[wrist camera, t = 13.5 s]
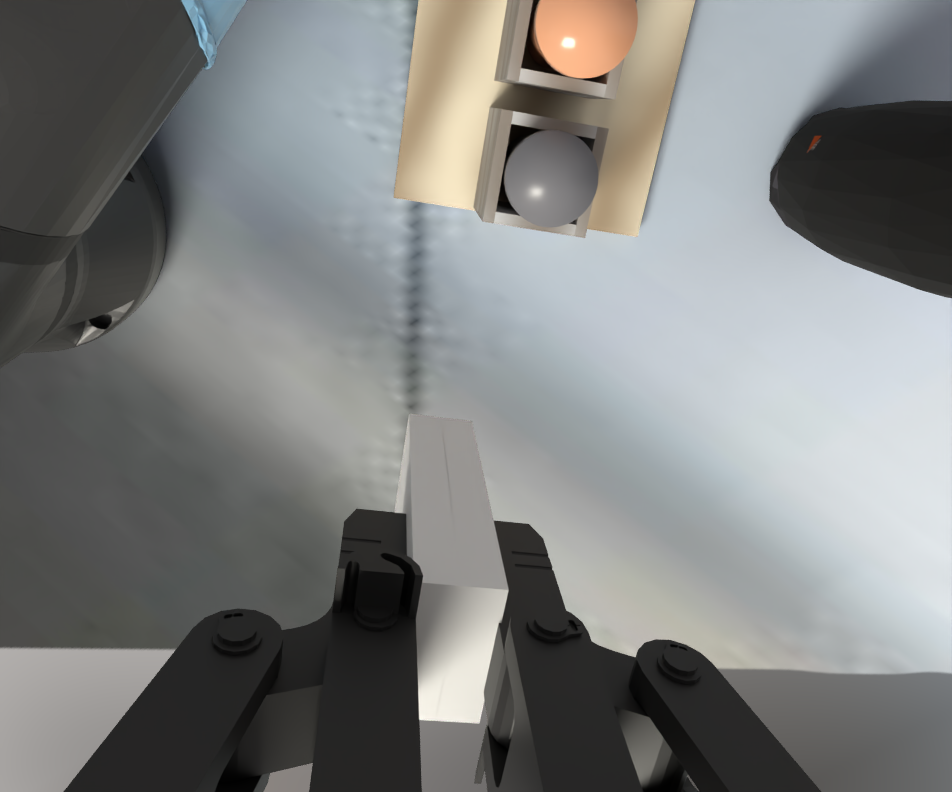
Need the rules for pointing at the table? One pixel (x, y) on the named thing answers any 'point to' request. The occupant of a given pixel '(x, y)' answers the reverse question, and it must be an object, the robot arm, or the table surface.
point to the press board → (532, 110)
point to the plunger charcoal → (550, 177)
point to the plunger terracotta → (581, 35)
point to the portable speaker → (874, 189)
